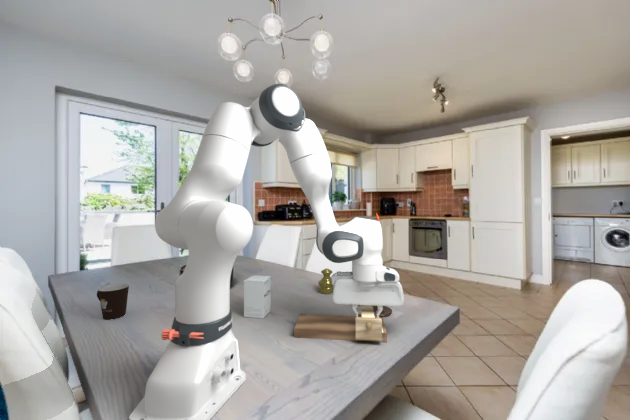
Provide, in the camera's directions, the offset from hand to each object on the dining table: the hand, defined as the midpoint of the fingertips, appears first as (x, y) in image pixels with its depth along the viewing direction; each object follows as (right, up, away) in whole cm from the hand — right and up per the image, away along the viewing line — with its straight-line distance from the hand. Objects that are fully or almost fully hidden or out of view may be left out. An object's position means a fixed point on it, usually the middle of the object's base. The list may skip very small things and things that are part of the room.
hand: (367, 319), depth 81 cm
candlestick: (+7, -4, +17) cm, 19 cm away
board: (-8, -5, +3) cm, 9 cm away
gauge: (0, -3, -1) cm, 3 cm away
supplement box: (-35, -5, +16) cm, 39 cm away
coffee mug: (-86, -5, +16) cm, 87 cm away
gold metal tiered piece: (-10, -4, +40) cm, 42 cm away
